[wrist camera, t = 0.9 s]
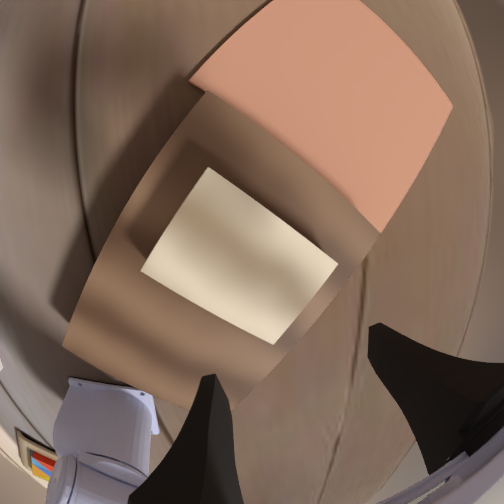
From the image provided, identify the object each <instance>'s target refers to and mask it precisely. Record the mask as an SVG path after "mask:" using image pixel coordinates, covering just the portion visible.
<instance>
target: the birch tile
mask: <svg viewBox="0 0 504 504" xmlns="http://www.w3.org/2000/svg"><path fill="white" fill-rule="evenodd" d="M337 265H338V263H337V262H335V261H334V260H333V259H332V258H330V257H329V256H328V255H327V254H325V253H324V252H323V251H321V250H320V249H319V248H318V247H316V246H315V245H314V244H312V243H311V242H310V241H309V240H307V239H306V238H305V237H303V236H302V235H301V234H300V233H298V232H297V231H296V230H294V229H293V228H292V227H290V226H289V225H288V224H286V223H285V222H284V221H282V220H281V219H280V218H278V217H277V216H276V215H274V214H273V213H272V212H270V211H269V210H268V209H266V208H265V207H264V206H262V205H261V204H260V203H258V202H257V201H255V200H254V199H253V198H251V197H250V196H249V195H247V194H246V193H244V192H243V191H242V190H240V189H239V188H237V187H236V186H235V185H233V184H232V183H230V182H229V181H228V180H226V179H225V178H223V177H222V176H221V175H219V174H218V173H216V172H215V171H213V170H212V169H211V168H209V167H207V169H206V170H205V171H204V173H203V174H202V176H201V177H200V178H199V180H198V181H197V183H196V184H195V186H194V187H193V188H192V190H191V191H190V193H189V194H188V196H187V197H186V199H185V200H184V202H183V203H182V205H181V206H180V207H179V209H178V210H177V212H176V214H175V215H174V217H173V218H172V220H171V221H170V223H169V224H168V226H167V227H166V229H165V231H164V232H163V234H162V235H161V237H160V238H159V240H158V242H157V243H156V245H155V247H154V248H153V250H152V251H151V253H150V255H149V256H148V258H147V260H146V262H145V263H144V265H143V267H142V269H141V272H143V273H145V274H146V275H148V276H149V277H151V278H153V279H154V280H156V281H158V282H159V283H161V284H163V285H164V286H166V287H167V288H169V289H171V290H173V291H174V292H176V293H178V294H179V295H181V296H183V297H184V298H186V299H188V300H190V301H191V302H193V303H195V304H197V305H198V306H200V307H202V308H204V309H206V310H207V311H209V312H211V313H213V314H215V315H216V316H218V317H220V318H222V319H224V320H226V321H228V322H230V323H231V324H233V325H235V326H237V327H239V328H241V329H243V330H245V331H247V332H249V333H251V334H253V335H255V336H257V337H259V338H261V339H263V340H265V341H267V342H269V343H271V344H273V345H274V343H275V342H276V341H277V340H278V339H279V338H280V336H281V335H282V334H283V333H284V332H285V331H286V329H287V328H288V327H289V326H290V325H291V323H292V322H293V321H294V320H295V319H296V317H297V316H298V315H299V314H300V313H301V311H302V310H303V309H304V308H305V306H306V305H307V304H308V303H309V301H310V300H311V299H312V298H313V296H314V295H315V294H316V293H317V291H318V290H319V289H320V288H321V286H322V285H323V284H324V282H325V281H326V280H327V279H328V277H329V276H330V275H331V273H332V272H333V271H334V269H335V268H336V267H337Z"/></svg>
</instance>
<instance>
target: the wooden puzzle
mask: <svg viewBox="0 0 504 504" xmlns="http://www.w3.org/2000/svg"><path fill="white" fill-rule="evenodd" d="M17 438H18V445H19V451H20V457H21V462H22V464H23V465H24V466H25V467H26V468H27V469H28V470H30V471H32V472H33V474H34V475H35V476H37V477H39V478H42V479H44V480H46V481H48V482H49V479H50V476H51V473H52V470H53V468H54V466H55V463H56V462H57V460H58V458H59V457H58V455H57V453H55V452H53V451H51V450H49V449H47V448H44V447H42V446H40V445H38V444H36V443H34V442H32V441H31V440H29V439H27V438H25V437H24V436H23V435H22V433H21V432H20V431H19V430H17Z"/></svg>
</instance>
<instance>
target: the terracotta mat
mask: <svg viewBox="0 0 504 504" xmlns="http://www.w3.org/2000/svg"><path fill="white" fill-rule="evenodd" d="M189 82H190V83H191V84H193V85H194V86H196V87H198V88H199V89H201V90H202V91H204V92H205V93H206V91H207V90H209V91H210V92H212V93H213V94H215V95H216V96H218V97H219V98H221V99H222V100H224V101H225V102H226V103H228V104H229V105H231V106H232V107H234V108H235V109H237V110H238V111H239V112H241V113H242V114H244V115H245V116H246V117H248V118H249V119H250V120H252V121H253V122H255V123H256V124H257V125H259V126H260V127H261V128H263V129H264V130H265V131H267V132H268V133H269V134H270V135H272V136H273V137H274V138H276V139H277V140H278V141H279V142H281V143H282V144H283V145H284V146H286V147H287V148H288V149H289V150H291V151H292V152H293V153H294V154H295V155H297V156H298V157H299V158H300V159H301V160H303V161H304V162H305V163H306V164H307V165H309V166H310V167H311V168H312V169H313V170H314V171H316V172H317V173H318V174H319V175H320V176H321V177H322V178H323V179H325V180H326V181H327V182H328V183H329V184H330V185H331V186H332V187H333V188H335V189H336V190H337V191H338V192H339V193H340V194H341V195H342V196H343V197H344V198H345V199H346V200H347V201H349V202H350V203H351V204H352V205H353V206H354V207H355V208H356V209H357V210H358V211H359V212H360V213H361V214H362V215H363V216H364V217H365V218H366V219H367V220H368V221H369V222H370V223H371V224H372V225H373V226H374V227H375V228H376V229H377V230H378V231H379V232H380V233H381V232H382V231H383V229H384V228H385V226H386V225H387V223H388V222H389V220H390V218H391V217H392V215H393V214H394V212H395V211H396V209H397V208H398V206H399V204H400V203H401V201H402V200H403V198H404V196H405V195H406V193H407V191H408V190H409V188H410V186H411V185H412V183H413V181H414V180H415V178H416V176H417V175H418V173H419V171H420V169H421V168H422V166H423V164H424V162H425V160H426V159H427V157H428V155H429V153H430V151H431V149H432V148H433V146H434V144H435V142H436V140H437V138H438V136H439V134H440V132H441V130H442V128H443V126H444V124H445V122H446V120H447V118H448V116H449V114H450V112H451V110H452V107H453V105H452V104H451V102H450V101H449V99H448V98H447V96H446V95H445V93H444V92H443V90H442V89H441V88H440V86H439V85H438V83H437V82H436V81H435V79H434V78H433V77H432V75H431V74H430V73H429V72H428V70H427V69H426V68H425V67H424V65H423V64H422V63H421V62H420V60H419V59H418V58H417V57H416V56H415V54H414V53H413V52H412V51H411V50H410V49H409V48H408V47H407V45H406V44H405V43H404V42H403V41H402V40H401V39H400V38H399V37H398V36H397V35H396V34H395V33H394V32H393V31H392V30H391V29H390V28H389V27H388V26H387V25H386V24H385V23H384V22H383V21H382V20H381V19H380V18H379V17H378V16H377V15H376V14H374V13H373V12H372V11H371V10H370V9H369V8H368V7H367V6H365V5H364V4H363V3H362V2H361V1H359V0H273V1H272V2H270V3H269V4H268V5H267V6H265V7H264V8H263V9H262V10H260V11H259V12H258V13H257V14H256V15H254V16H253V17H252V18H251V19H250V20H249V21H247V22H246V23H245V24H244V25H243V26H242V27H241V28H240V29H239V30H237V31H236V32H235V33H234V34H233V35H232V36H231V37H230V38H229V39H228V40H227V41H226V42H225V43H224V44H223V45H222V46H221V47H220V48H219V49H218V50H217V51H216V52H215V53H214V54H213V55H212V56H211V57H210V58H209V59H208V60H207V61H206V62H205V63H204V64H203V65H202V66H201V67H200V68H199V70H198V71H197V72H196V73H195V74H194V75H193V76H192V77H191V79H190V80H189Z"/></svg>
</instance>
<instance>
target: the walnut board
mask: <svg viewBox="0 0 504 504" xmlns="http://www.w3.org/2000/svg"><path fill="white" fill-rule="evenodd" d="M207 167H209V168H211V169H212V170H213V171H215V172H216V173H218V174H219V175H221V176H222V177H223V178H225V179H226V180H228V181H229V182H230V183H232V184H233V185H235V186H236V187H237V188H239V189H240V190H242V191H243V192H244V193H246V194H247V195H249V196H250V197H251V198H253V199H254V200H255V201H257V202H258V203H260V204H261V205H262V206H264V207H265V208H266V209H268V210H269V211H270V212H272V213H273V214H274V215H276V216H277V217H278V218H280V219H281V220H282V221H284V222H285V223H286V224H288V225H289V226H290V227H292V228H293V229H294V230H296V231H297V232H298V233H300V234H301V235H302V236H303V237H305V238H306V239H307V240H309V241H310V242H311V243H312V244H314V245H315V246H316V247H318V248H319V249H320V250H321V251H323V252H324V253H325V254H327V255H328V256H329V257H330V258H332V259H333V260H334V261H335V262H337V263H338V265H337V267H336V268H335V269H334V271H333V272H332V273H331V275H330V276H329V277H328V279H327V280H326V281H325V282H324V284H323V285H322V286H321V288H320V289H319V290H318V291H317V293H316V294H315V295H314V296H313V298H312V299H311V300H310V301H309V303H308V304H307V305H306V306H305V308H304V309H303V310H302V311H301V313H300V314H299V315H298V316H297V317H296V319H295V320H294V321H293V322H292V323H291V325H290V326H289V327H288V328H287V329H286V331H285V332H284V333H283V334H282V335H281V336H280V338H279V339H278V340H277V341H276V342H275V343H274V345H273V344H271V343H269V342H267V341H265V340H263V339H261V338H259V337H257V336H255V335H253V334H251V333H249V332H247V331H245V330H243V329H241V328H239V327H237V326H235V325H233V324H231V323H230V322H228V321H226V320H224V319H222V318H220V317H218V316H216V315H215V314H213V313H211V312H209V311H207V310H206V309H204V308H202V307H200V306H198V305H197V304H195V303H193V302H191V301H190V300H188V299H186V298H184V297H183V296H181V295H179V294H178V293H176V292H174V291H173V290H171V289H169V288H167V287H166V286H164V285H163V284H161V283H159V282H158V281H156V280H154V279H153V278H151V277H149V276H148V275H146V274H145V273H143V272H141V269H142V267H143V265H144V263H145V262H146V260H147V258H148V256H149V255H150V253H151V251H152V250H153V248H154V247H155V245H156V243H157V242H158V240H159V238H160V237H161V235H162V234H163V232H164V231H165V229H166V227H167V226H168V224H169V223H170V221H171V220H172V218H173V217H174V215H175V214H176V212H177V210H178V209H179V207H180V206H181V205H182V203H183V202H184V200H185V199H186V197H187V196H188V194H189V193H190V191H191V190H192V188H193V187H194V186H195V184H196V183H197V181H198V180H199V178H200V177H201V176H202V174H203V173H204V171H205V170H206V169H207ZM380 234H381V233H380V232H379V231H378V230H377V229H376V228H375V227H374V226H373V225H372V224H371V223H370V222H369V221H368V220H367V219H366V218H365V217H364V216H363V215H362V214H361V213H360V212H359V211H358V210H357V209H356V208H355V207H354V206H353V205H352V204H351V203H350V202H349V201H347V200H346V199H345V198H344V197H343V196H342V195H341V194H340V193H339V192H338V191H337V190H336V189H335V188H333V187H332V186H331V185H330V184H329V183H328V182H327V181H326V180H325V179H323V178H322V177H321V176H320V175H319V174H318V173H317V172H316V171H314V170H313V169H312V168H311V167H310V166H309V165H307V164H306V163H305V162H304V161H303V160H301V159H300V158H299V157H298V156H297V155H295V154H294V153H293V152H292V151H291V150H289V149H288V148H287V147H286V146H284V145H283V144H282V143H281V142H279V141H278V140H277V139H276V138H274V137H273V136H272V135H270V134H269V133H268V132H267V131H265V130H264V129H263V128H261V127H260V126H259V125H257V124H256V123H255V122H253V121H252V120H250V119H249V118H248V117H246V116H245V115H244V114H242V113H241V112H239V111H238V110H237V109H235V108H234V107H232V106H231V105H229V104H228V103H226V102H225V101H224V100H222V99H221V98H219V97H218V96H216V95H215V94H213V93H212V92H210V91H209V90H207V91H206V93H205V94H204V95H203V96H202V97H201V98H200V100H199V101H198V102H197V103H196V105H195V106H194V107H193V108H192V109H191V111H190V112H189V113H188V115H187V116H186V117H185V118H184V120H183V121H182V122H181V124H180V125H179V126H178V127H177V129H176V130H175V131H174V133H173V134H172V136H171V137H170V138H169V140H168V141H167V142H166V144H165V145H164V147H163V148H162V149H161V151H160V152H159V154H158V155H157V157H156V158H155V160H154V161H153V163H152V164H151V166H150V167H149V169H148V170H147V172H146V173H145V175H144V176H143V178H142V179H141V181H140V183H139V184H138V186H137V187H136V189H135V191H134V192H133V194H132V196H131V197H130V199H129V201H128V202H127V204H126V206H125V207H124V209H123V211H122V213H121V214H120V216H119V218H118V220H117V221H116V223H115V225H114V227H113V229H112V231H111V233H110V234H109V236H108V238H107V240H106V242H105V244H104V246H103V248H102V250H101V252H100V254H99V256H98V258H97V260H96V262H95V264H94V266H93V269H92V271H91V273H90V275H89V277H88V280H87V282H86V284H85V286H84V289H83V291H82V293H81V296H80V298H79V301H78V303H77V305H76V308H75V311H74V313H73V316H72V318H71V321H70V324H69V326H68V329H67V332H66V335H65V338H64V341H63V344H62V347H64V348H65V349H67V350H68V351H70V352H72V353H73V354H75V355H76V356H78V357H80V358H81V359H83V360H85V361H86V362H88V363H90V364H91V365H93V366H95V367H97V368H98V369H100V370H102V371H104V372H106V373H107V374H109V375H111V376H113V377H115V378H117V379H119V380H121V381H123V382H125V383H127V384H129V385H131V386H133V387H135V388H137V389H139V390H141V391H143V392H146V393H148V394H150V395H152V396H155V397H157V398H159V399H162V400H164V401H166V402H169V403H171V404H174V405H176V406H179V407H181V408H184V409H187V410H189V411H190V409H191V406H192V404H193V401H194V398H195V396H196V393H197V390H198V387H199V384H200V380H201V378H202V376H205V375H210V374H215V373H216V375H217V377H218V379H219V381H220V383H221V386H222V388H223V390H224V392H225V394H226V396H227V398H228V400H229V404H230V409H231V411H232V410H233V409H234V408H235V407H236V406H237V405H238V404H239V403H240V402H241V401H242V400H243V399H244V398H245V397H246V396H247V395H248V394H249V393H250V392H251V391H252V390H253V389H254V388H255V387H256V386H257V385H258V384H259V383H260V382H261V381H262V380H263V379H264V378H265V377H266V376H267V375H268V374H269V373H270V372H271V370H272V369H273V368H274V367H275V366H276V365H277V364H278V363H279V362H280V361H281V360H282V359H283V357H284V356H285V355H286V354H287V353H288V352H289V351H290V350H291V349H292V347H293V346H294V345H295V344H296V343H297V342H298V341H299V340H300V338H301V337H302V336H303V335H304V334H305V333H306V331H307V330H308V329H309V328H310V327H311V325H312V324H313V323H314V322H315V321H316V320H317V318H318V317H319V316H320V315H321V313H322V312H323V311H324V310H325V309H326V307H327V306H328V305H329V304H330V302H331V301H332V300H333V299H334V297H335V296H336V295H337V293H338V292H339V291H340V290H341V288H342V287H343V286H344V284H345V283H346V282H347V280H348V279H349V278H350V276H351V275H352V274H353V272H354V271H355V270H356V268H357V267H358V266H359V264H360V263H361V262H362V260H363V259H364V257H365V256H366V255H367V253H368V252H369V250H370V249H371V247H372V246H373V245H374V243H375V242H376V240H377V239H378V237H379V236H380Z"/></svg>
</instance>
